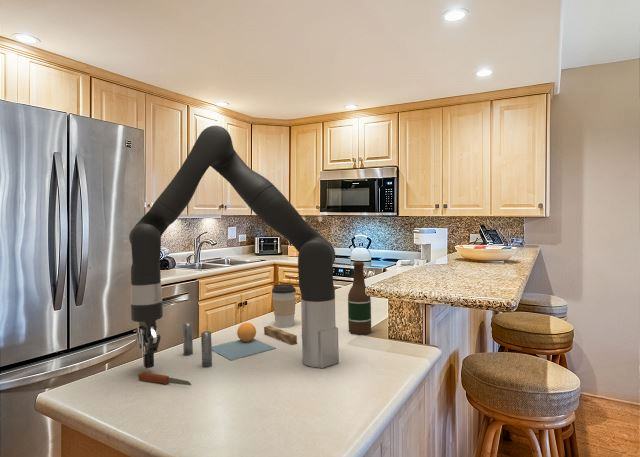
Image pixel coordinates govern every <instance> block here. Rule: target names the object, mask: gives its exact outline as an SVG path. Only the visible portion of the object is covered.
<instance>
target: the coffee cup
mask: <svg viewBox="0 0 640 457" xmlns="http://www.w3.org/2000/svg"><path fill="white" fill-rule="evenodd" d="M296 292H297V290H296V287H294V285H293V284H287V283H285V284H278V283H277V284H274V288H272V289H271V293H272V306H273V315H274V321H275V326H276V327H277V328H291V327H294V325H295V314H296V302H297V297H296Z"/></svg>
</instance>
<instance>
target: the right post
mask: <svg viewBox="0 0 640 457" xmlns="http://www.w3.org/2000/svg"><path fill="white" fill-rule="evenodd" d="M200 336H201V337H200V340H201V346H200V348H201V367H202V368H210V367H212V366H213V351H212V331H210V330H204V331H202V332H201V333H200Z"/></svg>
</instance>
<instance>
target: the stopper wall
mask: <svg viewBox="0 0 640 457" xmlns="http://www.w3.org/2000/svg"><path fill="white" fill-rule="evenodd" d="M263 332H264V333H263V334H264V335H266V336H267V337H270V338H273V339H275V338H276V340H278V341H280V340H281V342H283V343H286V344H289V345H291V346H292V345H296V344H298V335H297V334H294V333H290V332H288V331H285V330H282V329H279V328H278V327H277V328H276V327H273V326H271V325H267V326H263Z"/></svg>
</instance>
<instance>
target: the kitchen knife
mask: <svg viewBox="0 0 640 457" xmlns="http://www.w3.org/2000/svg"><path fill="white" fill-rule="evenodd" d="M137 378H138V380H139V381H141V382H148V383H157V384H163V385H166V386H167V385H169V384H175V385H185V386H192V383H191V382H190V381H189V380H184V379H180V378H175V377H170V376H169V375H164V374H159V373H153V372H144V371H143V372H140V373H138V376H137Z"/></svg>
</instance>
